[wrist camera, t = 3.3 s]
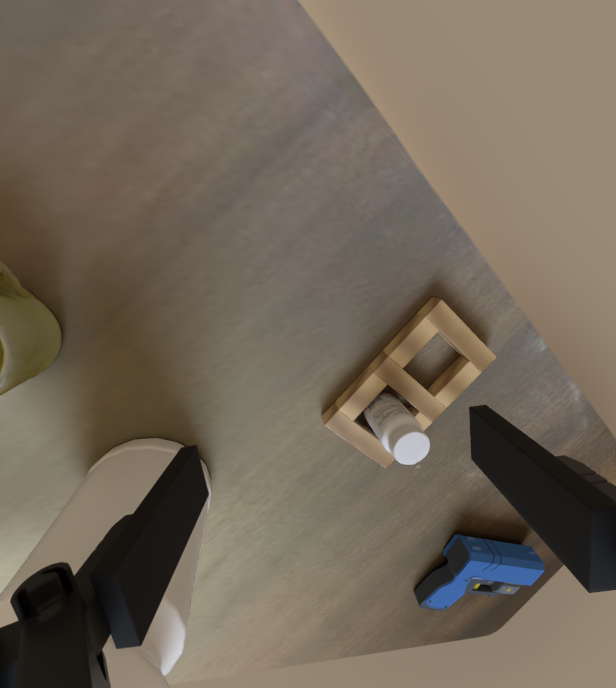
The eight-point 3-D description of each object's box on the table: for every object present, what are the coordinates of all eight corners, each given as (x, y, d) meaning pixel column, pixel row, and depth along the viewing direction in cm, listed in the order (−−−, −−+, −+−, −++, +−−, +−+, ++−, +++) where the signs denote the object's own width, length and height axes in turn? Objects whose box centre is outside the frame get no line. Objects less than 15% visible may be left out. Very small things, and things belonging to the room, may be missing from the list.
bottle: (127, 544, 40) (-110, 1106, 14) (64, 462, 36) (-466, 1078, 9) (231, 503, 41) (187, 971, 15) (182, 417, 36) (-9, 880, 10)
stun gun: (496, 623, 53) (550, 566, 48) (419, 617, 49) (469, 555, 45) (480, 596, 57) (529, 540, 52) (408, 588, 53) (453, 527, 48)
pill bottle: (397, 422, 41) (431, 465, 33) (362, 426, 41) (388, 471, 33) (399, 389, 40) (435, 426, 32) (363, 393, 39) (391, 431, 31)
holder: (432, 296, 37) (441, 299, 35) (485, 351, 40) (497, 357, 38) (321, 416, 39) (324, 425, 37) (380, 458, 43) (385, 469, 41)
